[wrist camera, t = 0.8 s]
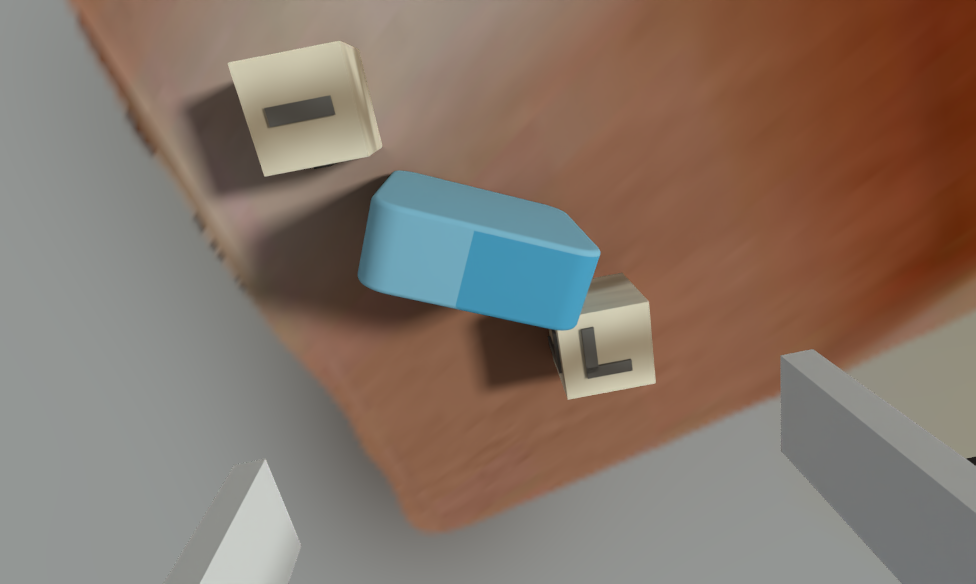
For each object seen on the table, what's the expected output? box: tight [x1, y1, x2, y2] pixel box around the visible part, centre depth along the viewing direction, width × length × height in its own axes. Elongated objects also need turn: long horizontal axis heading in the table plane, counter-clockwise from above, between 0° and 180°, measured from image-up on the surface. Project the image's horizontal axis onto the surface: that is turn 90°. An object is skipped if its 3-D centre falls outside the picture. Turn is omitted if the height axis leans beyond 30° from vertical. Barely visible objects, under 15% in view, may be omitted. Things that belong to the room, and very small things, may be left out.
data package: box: [358, 171, 600, 331], centre depth 32 cm, size 12×4×12 cm, turn 76°
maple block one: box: [228, 41, 382, 177], centre depth 32 cm, size 6×6×6 cm
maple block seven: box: [548, 273, 656, 400], centre depth 38 cm, size 6×6×6 cm
